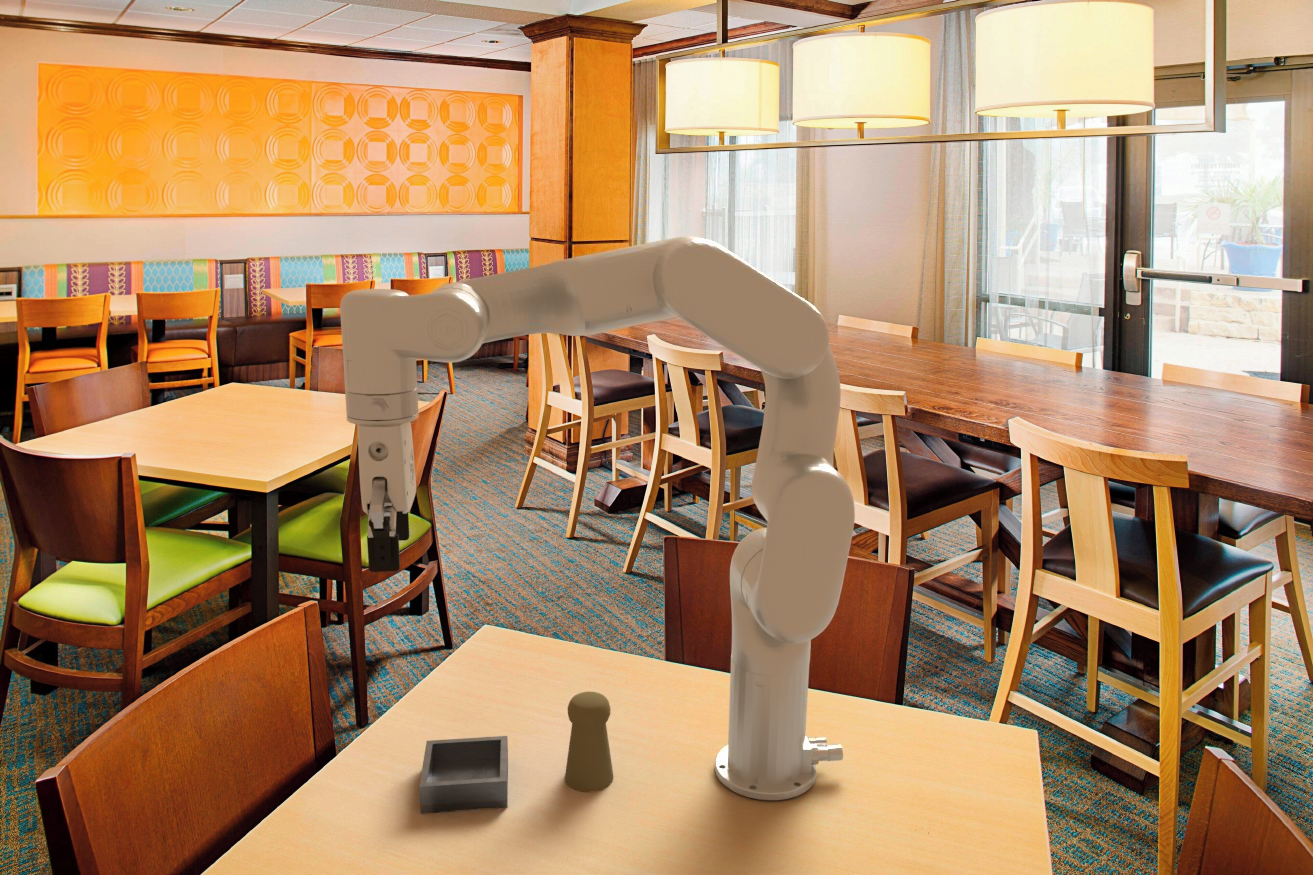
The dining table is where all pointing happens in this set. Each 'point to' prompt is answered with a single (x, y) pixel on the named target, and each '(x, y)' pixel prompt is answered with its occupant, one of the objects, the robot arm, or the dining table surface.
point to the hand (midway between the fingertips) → (390, 554)
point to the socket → (464, 774)
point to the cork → (589, 743)
